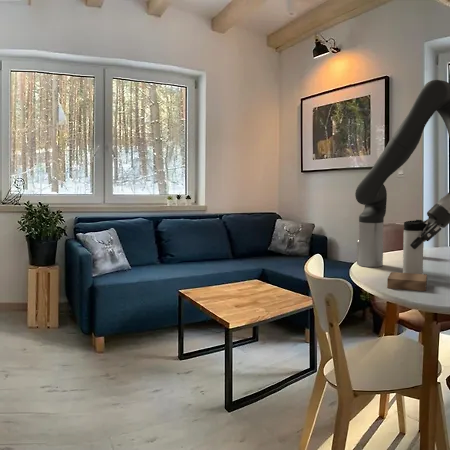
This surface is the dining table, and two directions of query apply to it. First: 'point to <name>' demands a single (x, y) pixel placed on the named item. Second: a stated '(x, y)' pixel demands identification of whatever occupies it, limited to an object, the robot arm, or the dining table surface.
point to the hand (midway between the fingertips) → (408, 245)
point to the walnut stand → (407, 281)
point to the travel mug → (410, 255)
